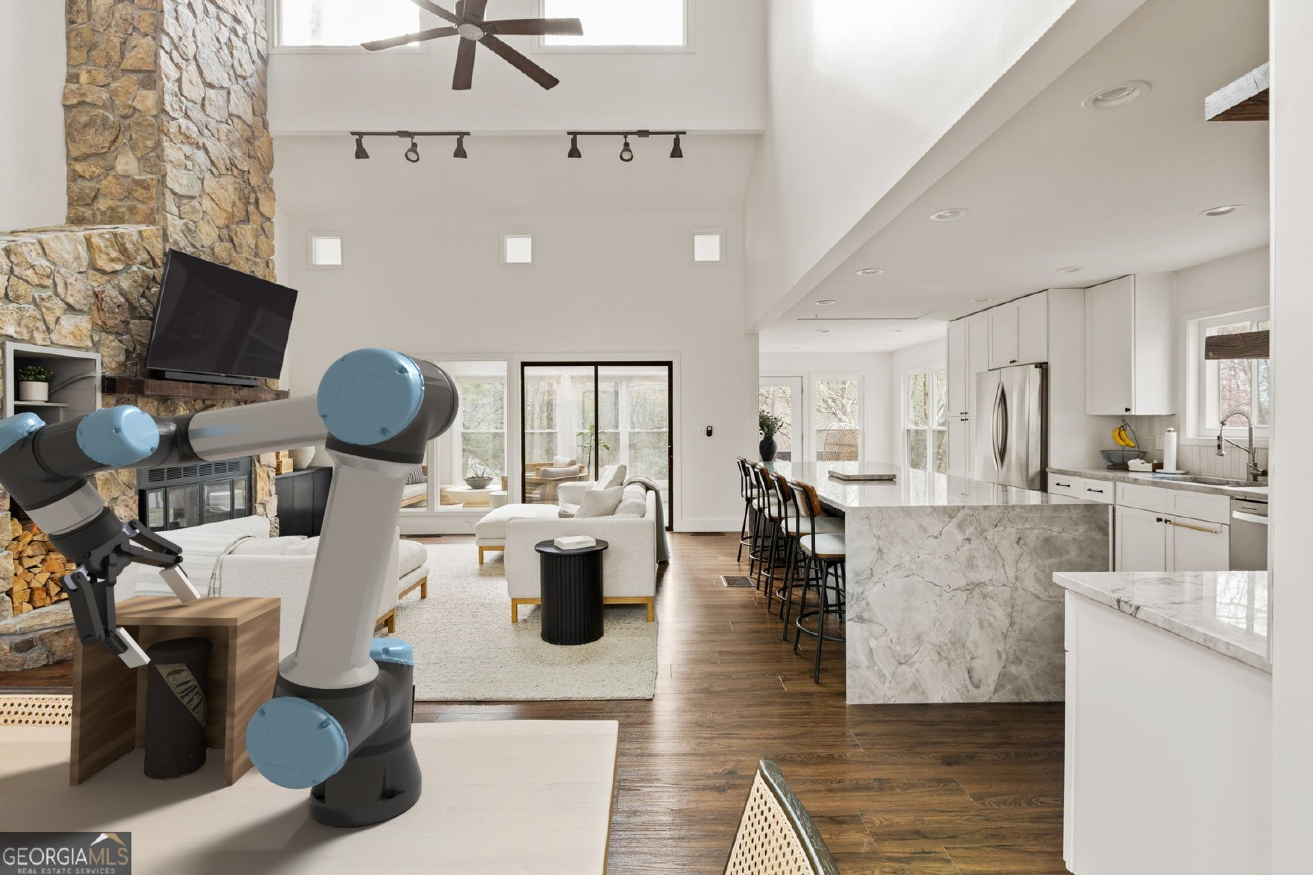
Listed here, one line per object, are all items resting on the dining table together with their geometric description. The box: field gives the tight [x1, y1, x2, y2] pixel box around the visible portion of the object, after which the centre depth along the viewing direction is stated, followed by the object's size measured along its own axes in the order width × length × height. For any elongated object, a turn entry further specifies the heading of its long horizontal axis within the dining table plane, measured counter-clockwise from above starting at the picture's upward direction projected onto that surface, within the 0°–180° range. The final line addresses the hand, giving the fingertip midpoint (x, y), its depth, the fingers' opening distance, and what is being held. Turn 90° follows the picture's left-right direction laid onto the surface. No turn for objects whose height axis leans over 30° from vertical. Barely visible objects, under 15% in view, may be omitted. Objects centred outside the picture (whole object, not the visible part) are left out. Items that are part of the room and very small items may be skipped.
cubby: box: [68, 595, 282, 787], centre depth 108 cm, size 23×13×25 cm, turn 94°
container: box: [143, 637, 213, 780], centre depth 107 cm, size 9×9×20 cm
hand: (167, 630), depth 103 cm, fingers open, 13 cm apart
